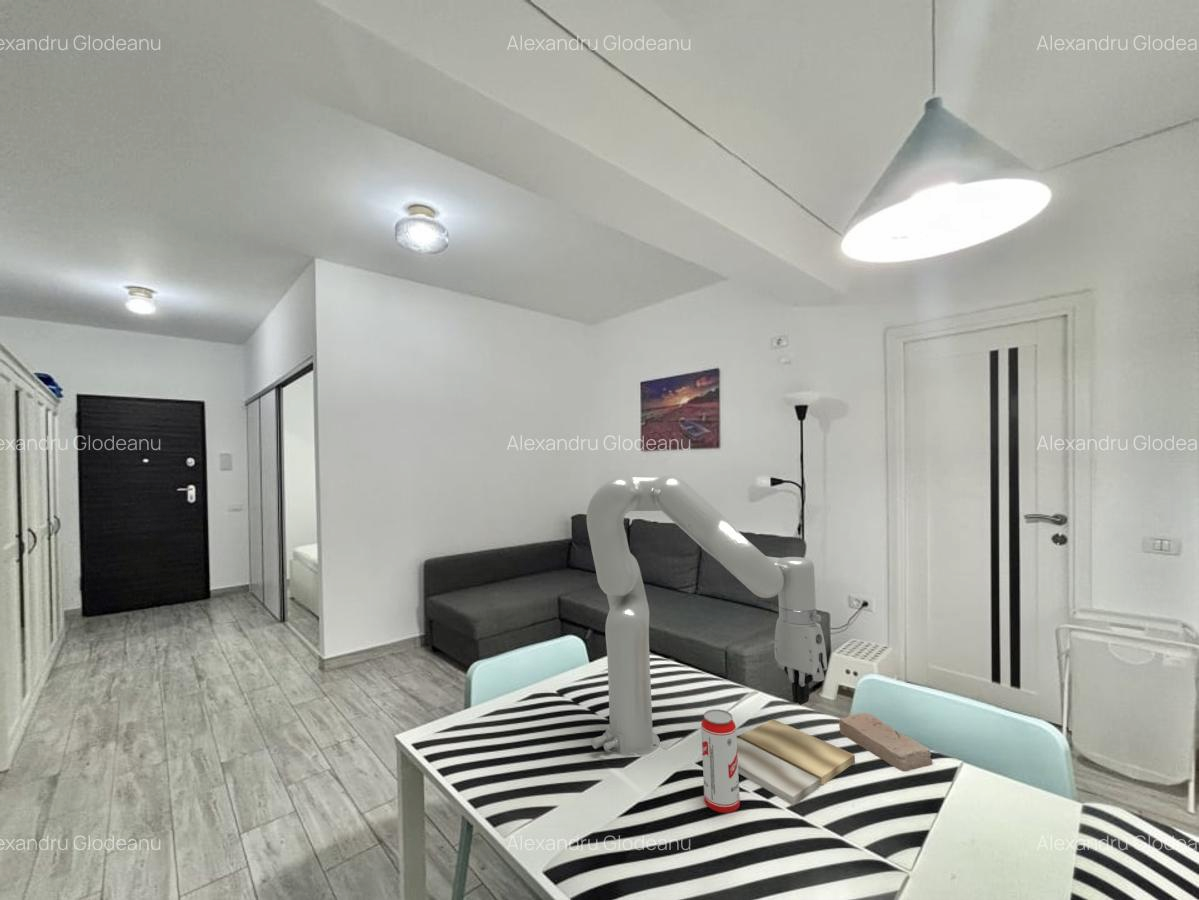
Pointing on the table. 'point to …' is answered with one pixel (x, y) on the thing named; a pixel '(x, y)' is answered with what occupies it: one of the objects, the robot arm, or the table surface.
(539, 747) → the table surface
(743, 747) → the board
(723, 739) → the beer can
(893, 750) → the brick
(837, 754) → the oak plank
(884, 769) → the table surface
